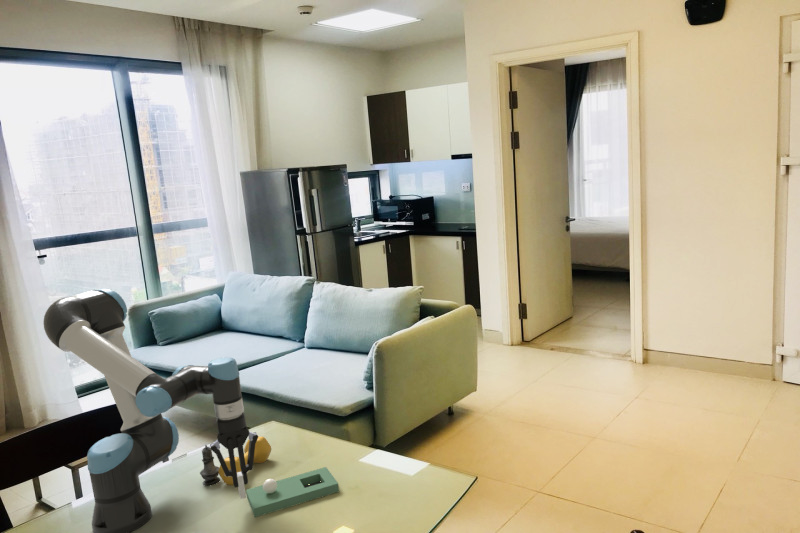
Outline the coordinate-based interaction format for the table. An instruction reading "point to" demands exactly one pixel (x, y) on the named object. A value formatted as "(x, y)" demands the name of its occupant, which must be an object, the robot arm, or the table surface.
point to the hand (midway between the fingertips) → (242, 495)
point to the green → (292, 491)
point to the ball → (270, 486)
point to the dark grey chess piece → (209, 468)
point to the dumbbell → (259, 457)
